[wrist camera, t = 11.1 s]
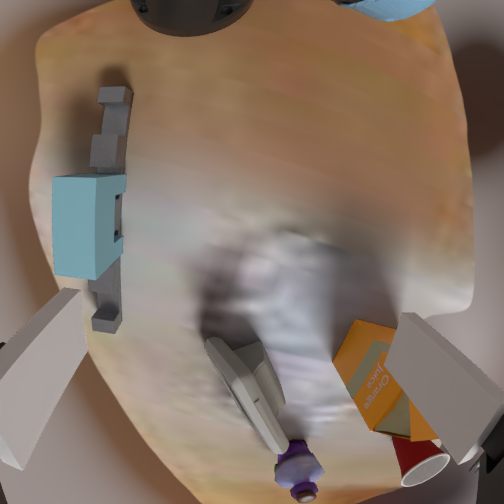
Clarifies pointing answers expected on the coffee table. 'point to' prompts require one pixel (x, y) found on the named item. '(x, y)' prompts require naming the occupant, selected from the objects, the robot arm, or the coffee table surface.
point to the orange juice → (378, 383)
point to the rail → (112, 161)
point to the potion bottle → (298, 471)
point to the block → (85, 223)
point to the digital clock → (252, 387)
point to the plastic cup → (418, 460)
